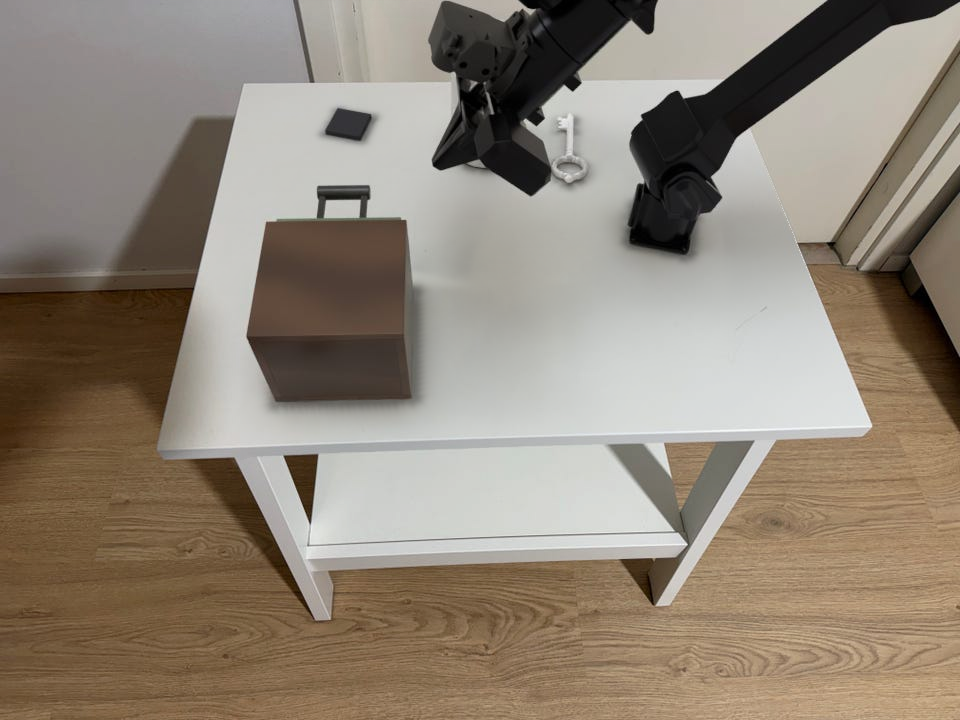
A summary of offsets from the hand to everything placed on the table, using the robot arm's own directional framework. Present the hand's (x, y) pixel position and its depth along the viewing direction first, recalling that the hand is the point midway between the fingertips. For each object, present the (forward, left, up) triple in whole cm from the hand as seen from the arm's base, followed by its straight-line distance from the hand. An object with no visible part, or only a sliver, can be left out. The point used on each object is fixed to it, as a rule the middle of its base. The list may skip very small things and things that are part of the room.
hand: (435, 165), depth 64 cm
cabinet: (+6, +13, -13) cm, 19 cm away
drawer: (+7, +8, -12) cm, 16 cm away
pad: (+17, -18, -13) cm, 28 cm away
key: (-10, -21, -13) cm, 27 cm away
